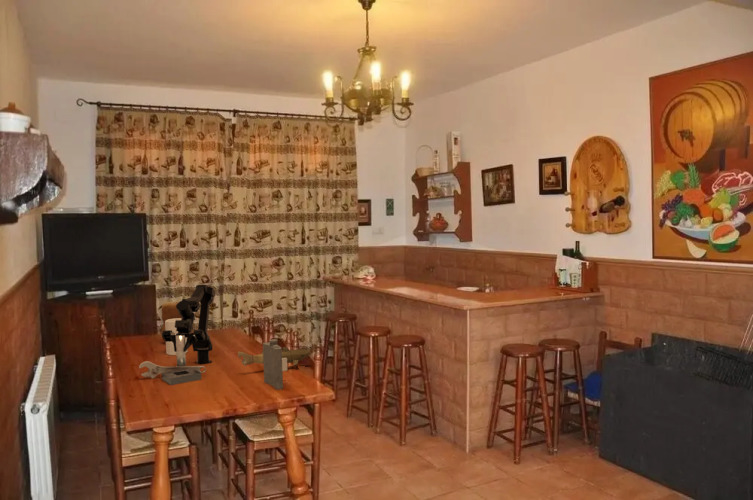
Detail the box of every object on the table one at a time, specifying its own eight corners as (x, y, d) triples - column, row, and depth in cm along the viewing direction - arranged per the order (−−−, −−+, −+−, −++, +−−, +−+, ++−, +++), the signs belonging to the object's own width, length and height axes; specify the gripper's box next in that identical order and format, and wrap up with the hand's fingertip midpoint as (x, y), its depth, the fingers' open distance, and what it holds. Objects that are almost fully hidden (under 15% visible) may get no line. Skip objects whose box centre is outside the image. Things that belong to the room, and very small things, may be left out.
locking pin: (177, 364, 274) (176, 334, 273) (186, 364, 275) (185, 334, 274) (176, 367, 270) (175, 336, 269) (185, 366, 271) (184, 335, 270)
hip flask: (263, 381, 266) (261, 337, 265) (271, 380, 268) (270, 336, 267) (277, 390, 252) (275, 343, 251) (286, 388, 255) (284, 342, 253)
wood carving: (236, 372, 282) (235, 349, 281) (307, 364, 296) (306, 341, 295) (240, 377, 274) (239, 353, 273) (313, 368, 288) (312, 345, 287)
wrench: (205, 378, 285) (138, 379, 272) (204, 377, 287) (138, 378, 274) (206, 361, 285) (139, 362, 272) (205, 360, 287) (139, 361, 274)
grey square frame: (162, 379, 273) (161, 373, 273) (191, 374, 282) (191, 367, 281) (170, 385, 264) (170, 378, 263) (201, 379, 272) (201, 372, 272)
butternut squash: (176, 339, 365) (175, 299, 363) (190, 341, 357) (188, 300, 355) (157, 343, 353) (155, 302, 352) (170, 346, 346) (168, 303, 344)
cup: (161, 354, 324) (160, 321, 323) (175, 350, 335) (174, 317, 333) (178, 356, 320) (176, 322, 319) (191, 351, 330) (190, 318, 329)
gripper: (162, 313, 275) (154, 342, 265) (202, 312, 275) (195, 341, 264) (169, 326, 283) (161, 355, 273) (208, 326, 283) (201, 354, 273)
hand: (179, 351), depth 270 cm, fingers closed on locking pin, 4 cm apart
